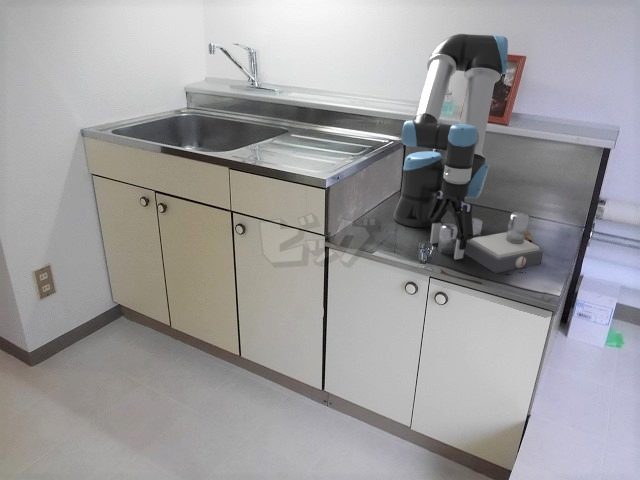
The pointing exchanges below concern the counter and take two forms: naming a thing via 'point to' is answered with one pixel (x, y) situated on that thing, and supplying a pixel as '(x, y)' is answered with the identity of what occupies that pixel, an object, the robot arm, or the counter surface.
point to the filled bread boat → (528, 237)
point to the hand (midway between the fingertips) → (445, 250)
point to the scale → (502, 253)
